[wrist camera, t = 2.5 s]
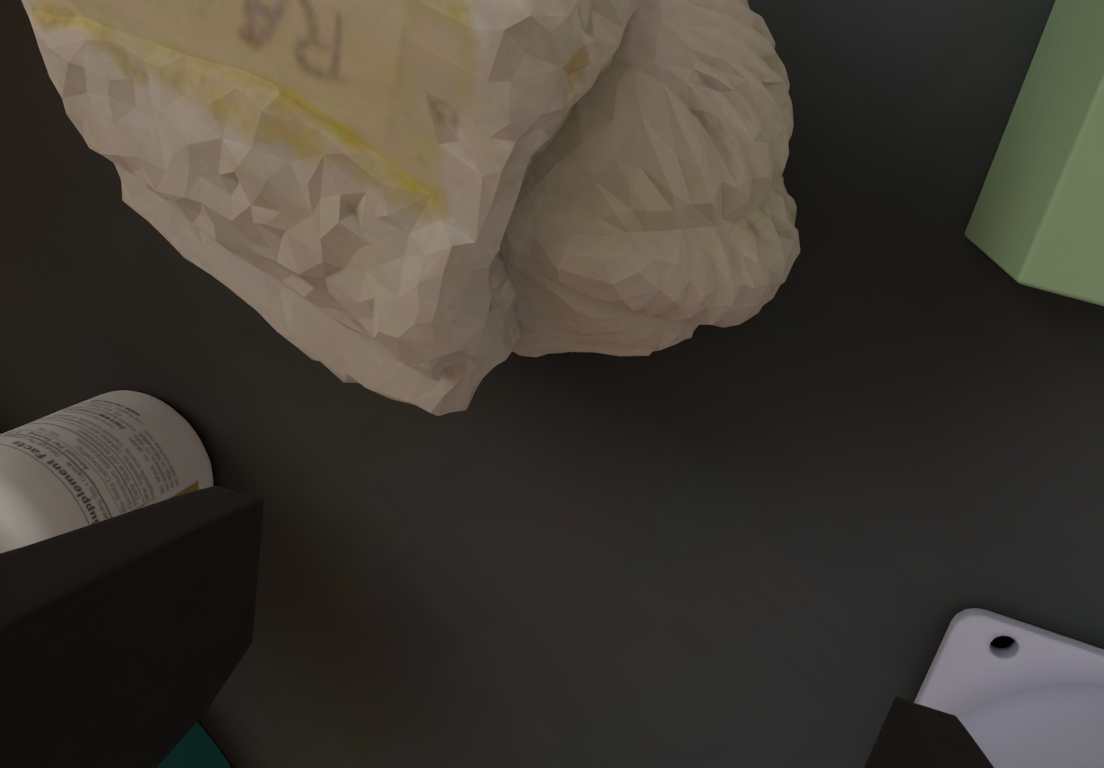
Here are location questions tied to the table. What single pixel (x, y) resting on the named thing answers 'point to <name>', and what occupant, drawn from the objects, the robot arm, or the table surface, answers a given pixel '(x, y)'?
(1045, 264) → the green block
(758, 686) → the table surface
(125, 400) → the pill bottle
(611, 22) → the fossil replica
